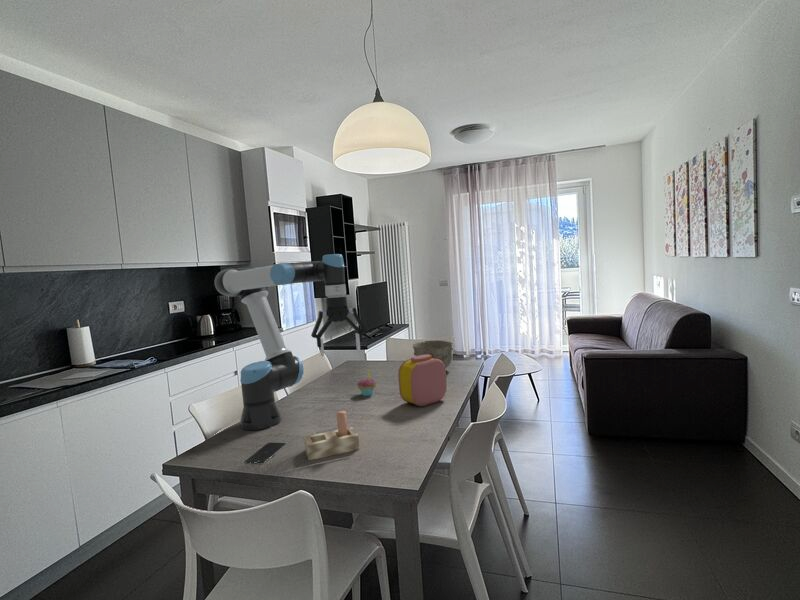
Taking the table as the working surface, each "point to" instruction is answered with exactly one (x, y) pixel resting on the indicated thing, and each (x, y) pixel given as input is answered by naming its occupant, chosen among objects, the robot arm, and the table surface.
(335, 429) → the mat
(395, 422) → the table surface
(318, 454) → the hole block
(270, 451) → the smartphone
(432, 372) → the alarm clock
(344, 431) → the peg
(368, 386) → the cupcake
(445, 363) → the bowl
